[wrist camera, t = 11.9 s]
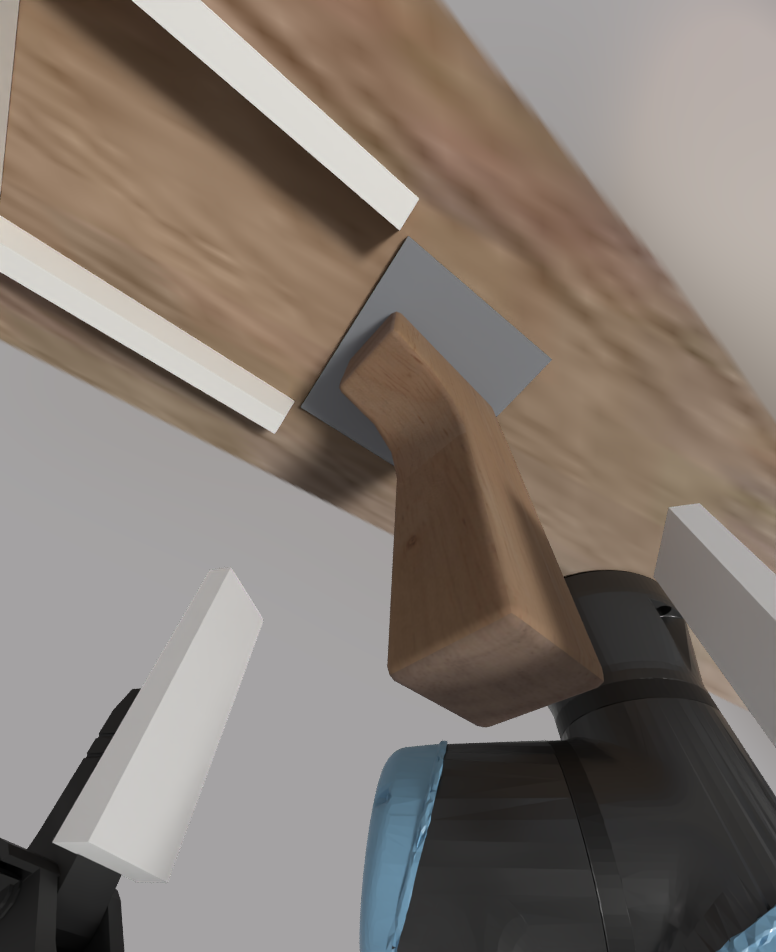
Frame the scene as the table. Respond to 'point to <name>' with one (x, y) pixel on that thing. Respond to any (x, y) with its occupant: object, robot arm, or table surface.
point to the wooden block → (465, 544)
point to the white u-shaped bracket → (127, 319)
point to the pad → (444, 326)
